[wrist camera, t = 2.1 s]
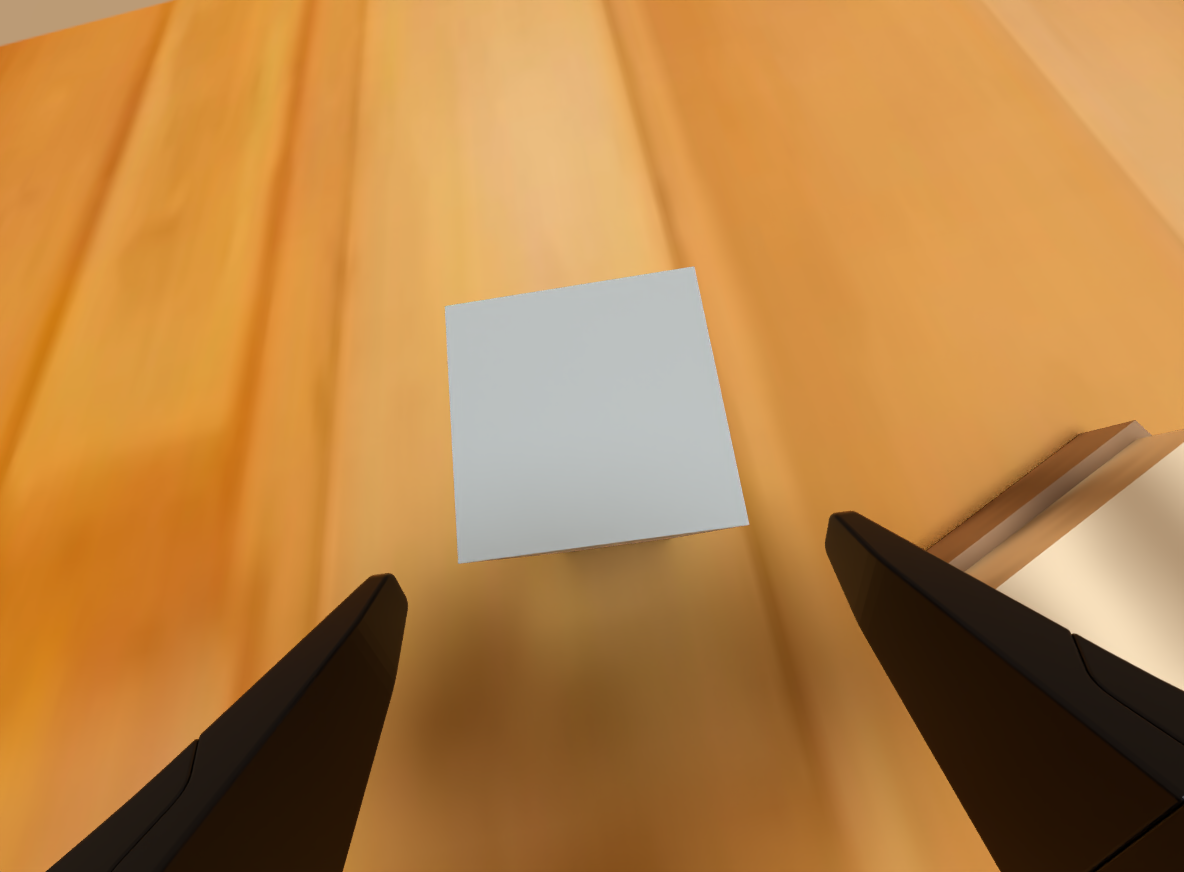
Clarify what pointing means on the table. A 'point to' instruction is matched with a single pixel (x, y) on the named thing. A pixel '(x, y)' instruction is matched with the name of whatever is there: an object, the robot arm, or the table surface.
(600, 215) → the table surface
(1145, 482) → the stacked square panels
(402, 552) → the table surface
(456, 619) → the table surface
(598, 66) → the table surface
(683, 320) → the slate block
